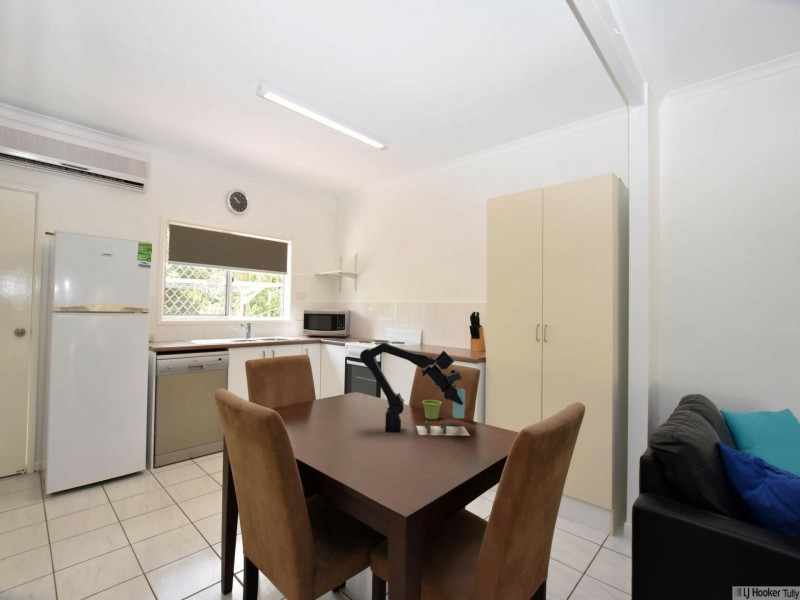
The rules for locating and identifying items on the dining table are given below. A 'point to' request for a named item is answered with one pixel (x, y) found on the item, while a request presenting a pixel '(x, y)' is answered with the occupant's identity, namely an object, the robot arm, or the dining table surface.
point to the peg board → (441, 430)
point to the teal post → (457, 408)
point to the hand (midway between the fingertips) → (461, 403)
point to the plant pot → (431, 408)
